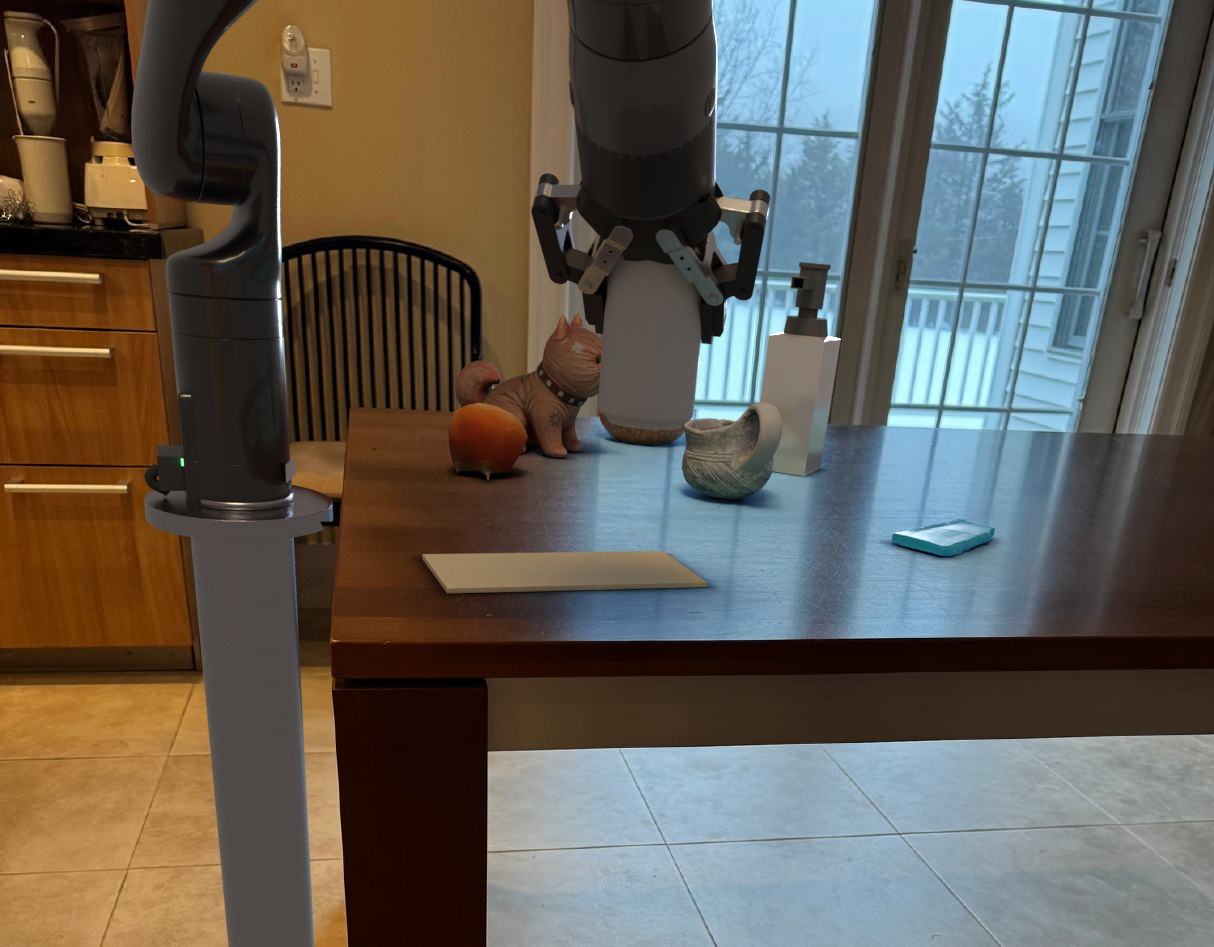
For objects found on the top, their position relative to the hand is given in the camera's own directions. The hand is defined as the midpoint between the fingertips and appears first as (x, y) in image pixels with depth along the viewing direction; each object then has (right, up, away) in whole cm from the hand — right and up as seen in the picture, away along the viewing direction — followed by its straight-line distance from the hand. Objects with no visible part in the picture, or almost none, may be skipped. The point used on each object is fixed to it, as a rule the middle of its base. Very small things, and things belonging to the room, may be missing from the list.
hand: (655, 328), depth 74 cm
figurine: (-12, +10, +58) cm, 60 cm away
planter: (+1, +15, +70) cm, 72 cm away
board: (-7, -14, +12) cm, 19 cm away
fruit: (-16, +3, +44) cm, 46 cm away
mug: (+10, 0, +41) cm, 42 cm away
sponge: (+29, -7, +31) cm, 43 cm away
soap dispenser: (+18, +8, +59) cm, 62 cm away
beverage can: (-1, -6, +1) cm, 6 cm away
